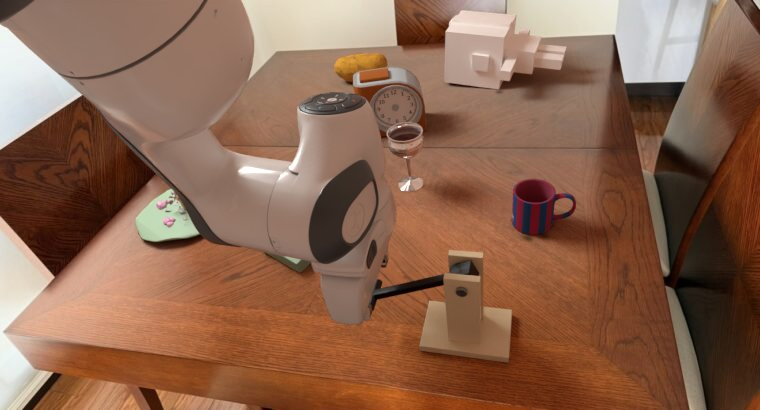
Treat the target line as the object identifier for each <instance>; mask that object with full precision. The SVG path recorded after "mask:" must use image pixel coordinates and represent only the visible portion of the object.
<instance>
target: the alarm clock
mask: <svg viewBox="0 0 760 410" xmlns="http://www.w3.org/2000/svg"><path fill="white" fill-rule="evenodd" d="M352 87H353V88H352V89H353V94H358V95H359V96H362V97H364V98H365V99H366V100H367V101H368V102H369V104H370V106H371V108H372V110H373V112H374V115H375V118H376V121H377V124H378V127H379V131H380V135H381V138H382V137H383V138H384V137H387V131H388V129H389V128H390V127H392V126H394V125H396V124H399V123H404V122H411V123H416V124H418V125H420V126H421V127H422V129H423V132H426V131H428V128H427V118H426V106H425V101H424V96H423V91H422V87H421V83H420V81H419V79H418V77H417V76H416V75H415V74H414V73H413V72H412V71H410V70H409V69H406V68H405V67H400V66H387V67H386V68H379V69H372V70H365V71H359V72H357V73H355V74H354V75H353V82H352Z"/></svg>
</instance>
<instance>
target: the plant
mask: <svg viewBox="0 0 760 410" xmlns="http://www.w3.org/2000/svg"><path fill="white" fill-rule="evenodd" d="M167 186H168V185H167ZM134 225H135V228H136V230H137V232H138V234H139V236H140V238H141V239H142V240H143V241H145V242H146V241H147V242H151V243H152V242H153V243H161V242H168V241H176V240H183V239H190V238H195V237H198V236H201V235H200V234H199V232H198V231H197V229H196V228H195V226H194V225H193V223H192V221H191V219H190V217H189V215H188V213H187V210H186V208H185V207H184V205H183V203H182V201H181V200H180V198H179V197H178V196H177V194H176V193H175V192H174V191H173V190H172V189H171V188H170V187H169V186H168V189H167V190H166V191H164V192H163V193H162V194H159V195H158V196H157V197H155V198H154V199H153V200H151V201H150V203H148V204H147V205H146V206H145V207H144V208H143V209H142V210H141V211H140V212H139V214H138V215H137V216H136V217H135V222H134Z"/></svg>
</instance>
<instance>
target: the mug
mask: <svg viewBox="0 0 760 410" xmlns="http://www.w3.org/2000/svg"><path fill="white" fill-rule="evenodd" d="M561 199H568V200H571V202H572V205H571V206H572V207H571V208H570V210H568V211H566V212H563V213H560V214H559V213H558V214H556V213H555V205H556V202H557V201H558V200H561ZM576 208H577V201H576V198H575V196H574V195H573V194H571V193H565V192H564V193H563V192H562V193H557V191H556V187H554V185H553V184H551V182H549V181H546V180H544V179H540V178H527V179H523V180H521V181H518V182H517V183H515V184H514V186H513V188H512V204H511V224H512V227H513V228H514V229H515V230H516V231H518V232H520V233H522V234H525V235H530V236H537V235H542V234H544V233H546V232H549V230H550V229H551V228H552V227H553V223H554V221H559V220H564V219H567V218H569V217H571V216H572V215H573V214H574V212H575V211H576ZM554 213H555V214H554Z"/></svg>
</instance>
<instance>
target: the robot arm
mask: <svg viewBox="0 0 760 410" xmlns="http://www.w3.org/2000/svg"><path fill="white" fill-rule="evenodd" d="M244 5H245V4H244V3H243V0H0V25H1V26H2V27H3V28H6V29H7V30H9V31H10V32H11V33H12V34H13V35H14V36H15V37H16V38H17V39H18V40H19V41H20V42H21V43H22V44H23V45H24V46H25V47H26V48H27V49H29V51H31V52H32V53H33V54H34V55H36V56H37V58H39V59H40V60H41V61H42V62H43V63H44V64H46V65H47V66H48V67H49V68H50V69H51V70H52V71H53V72H55V73H56V74H57V75H59V76H60V77H61V79H63V80H64V81H66V83H67V84H69V85H70V86H71V87H72V88H74V89H75V90H76V91H77V92H78V93H79V94H81V95H82V96H83V97H84V98H85V99H86V100H88V101H89V102H90V103H91V104H92V105H93V106H94V107H95V109H96V110H97V112H98V113H99V115H100V117H101V118H102V120H103V121H104V122H105V124H107V126H108V127H109V128H110V129H111V130H112V132H113V133H114V134H116V136H117V137H118V138H119V139H120V140H121V141H122V142H123V143H124V144H125V145H126V146H127V147H128V148H129V149H130V150H131V151H132V152H133V153H134V154H135V155H136V156H137V157H138V158H139V159H140V160H141V161H142V162H143V163H144V164H145V165H146V166H147V167H148V168H149V169H151V171H152V172H153V173H155V175H156V176H158V177H159V179H161V181H163V182H164V183H165V184H166V185H167V186H169V187H170V188H171V189H172V190H173V191H174V192H175V193H176V194H177V196H178V197H179V198H180V200H181V201H182V203H183V205H184V207H185V208H186V210H187V213H188V215H189V217H190V219H191V221H192V223H193V225H194V226H195V228H196V229H197V231H198V232H199V234H200V235H199V236H201V238H203V239H204V240H205V241H207V242H209V243H211V244H214V245H218V246H226V247H233V248H244V249H249V250H254V251H258V252H263V253H265V252H266V253H271V254H276V255H280V256H286V257H291V258H296V259H300V260H305V261H310V262H311V263H310V264H311V268H312V270H313V272H314V273H316V274H320V280H319V281H320V289H321V293H322V294H321V295H322V298H323V300H324V303H325V307H326V309H327V311H328V313H329V317H330V318H331V320H332V321H333V322H335V323H337V324H340V325H349V326H359V325H362V324H363V322H364V321H366V322H369V321H370V320H371V317H372V314H373V311H372V306H371V304H369V302H370V299H371V296H372V293H373V290H374V287H375V284H376V280H377V279H378V277H379V274H380V271H381V268H384V269H385V268H387V266H388V263H389V260H390V259H389V243H390V241H391V237H392V234H393V231H394V228H395V225H396V222H397V216H398V215H397V207H396V202H395V197H394V194H393V190H392V188H391V186H390V185H389V182H388V180H387V179H386V176H385V171H386V155H385V150H384V145H383V140H382V137H381V135H380V131H379V127H378V124H377V121H376V118H375V115H374V112H373V110H372V108H371V106H370V104H369V102H368V101H367V100H366V99H365V98H364V97H362V96H359V95H358V94H354V92H353V93H352V92H345V91H343V92H342V91H329V92H323V93H316V94H315V95H312V96H309V97H307V98H305V99H304V100H302V101H301V102H300V103H299V104H298V106H297V109H296V118H297V119H296V120H297V127H298V135H299V144H298V147H297V151H296V154H295V156H294V159H293V160H292V161H288V160H281V159H276V158H267V157H259V156H254V155H249V154H246V153H241V152H238V151H237V152H236V151H233V150H231V149H228V148H226V147H225V146H223V145H222V144H221V142H220V141H219V139H218V138H217V137H216V136H215V135H214V132H212V130H211V129H210V128H211V127H212V126H213V125H215V124H216V123H217V122H219V121H220V120H221V119H222V118H223V117H224V116H225V115H226V114H227V113H228V112H229V110H231V108H232V107H234V105H235V104H236V102H237V101H238V99H239V98H240V97H241V95H242V93H243V91H244V90H245V87H246V85H247V83H248V81H249V79H250V76H251V73H252V68H253V64H254V57H255V55H254V54H255V35H254V31H253V28H252V24H251V21H250V17H249V15H248V12H247V10H246V7H245V6H244ZM169 187H168V188H169ZM266 253H265V254H266Z"/></svg>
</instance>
